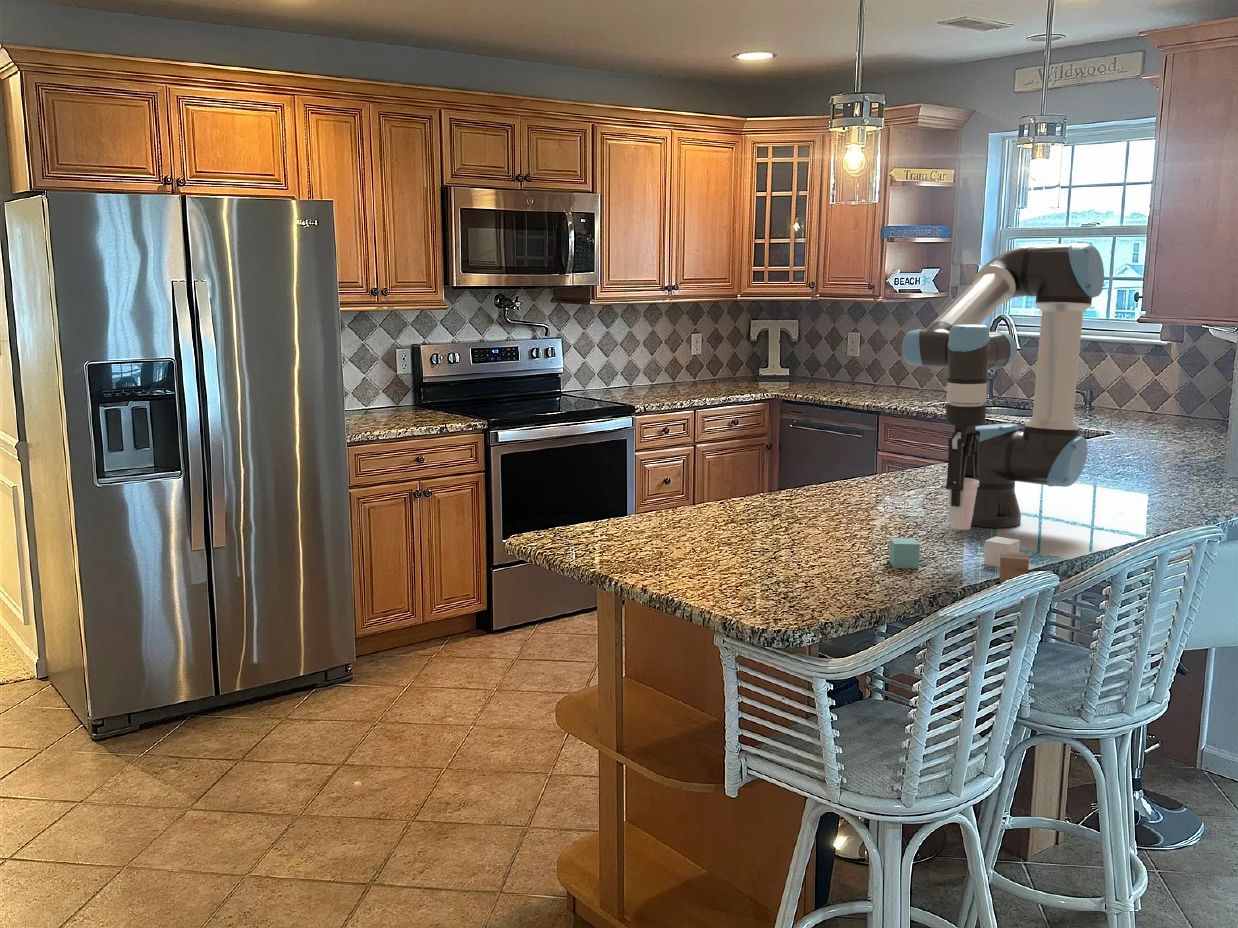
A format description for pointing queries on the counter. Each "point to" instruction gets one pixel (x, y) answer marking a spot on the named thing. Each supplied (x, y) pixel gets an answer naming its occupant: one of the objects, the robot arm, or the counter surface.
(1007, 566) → the cube walnut
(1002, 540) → the cube grey
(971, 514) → the smoothie
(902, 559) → the cube teal
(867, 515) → the counter surface
